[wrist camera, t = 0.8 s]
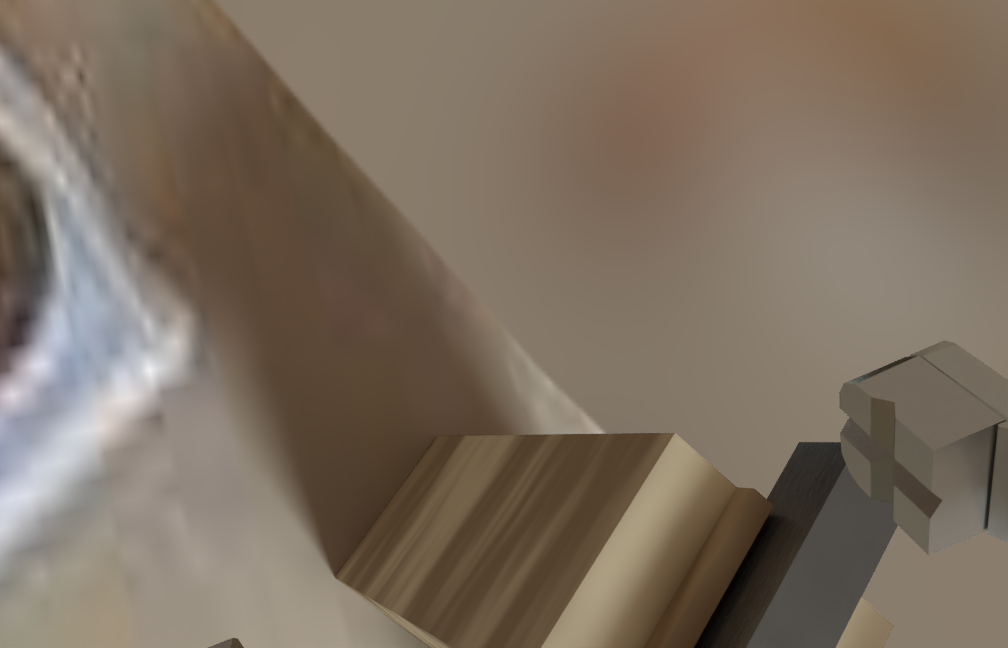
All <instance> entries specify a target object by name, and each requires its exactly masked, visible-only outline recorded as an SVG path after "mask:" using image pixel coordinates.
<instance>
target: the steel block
mask: <svg viewBox="0 0 1008 648" xmlns="http://www.w3.org/2000/svg"><path fill="white" fill-rule="evenodd" d="M767 500H768V501H769V502H770V503H771V504H772V505H773V508H772V509H771V511H770V513H769V515H768V517H767V518H766V520H765V522H764V524H763V525H762V527H761V529H760V531H759V533H758V534H757V536H756V538H755V540H754V541H753V543H752V545H751V547H750V548H749V550H748V552H747V554H746V556H745V557H744V559H743V561H742V563H741V564H740V566H739V568H738V570H737V572H736V573H735V575H734V577H733V579H732V580H731V582H730V584H729V586H728V588H727V589H726V591H725V593H724V595H723V596H722V598H721V600H720V602H719V603H718V605H717V607H716V609H715V611H714V612H713V614H712V616H711V618H710V619H709V621H708V623H707V625H706V627H705V628H704V630H703V632H702V634H701V635H700V637H699V639H698V641H697V643H696V644H695V646H694V648H836V646H837V644H838V642H839V640H840V638H841V636H842V634H843V632H844V630H845V628H846V626H847V624H848V622H849V620H850V618H851V616H852V614H853V612H854V610H855V608H856V606H857V604H858V602H859V601H860V599H861V597H862V595H863V593H864V591H865V588H866V587H867V585H868V583H869V581H870V579H871V577H872V575H873V573H874V571H875V569H876V567H877V565H878V563H879V561H880V559H881V557H882V555H883V553H884V551H885V549H886V547H887V545H888V543H889V541H890V539H891V537H892V535H893V533H894V531H895V530H896V528H897V526H898V525H897V524H896V523H895V522H894V521H893V505H891V504H888V503H885V502H881V501H878V500H875V499H872V498H870V497H869V496H868V495H867V494H866V493H865V492H864V491H863V490H862V489H861V487H860V486H859V485H858V484H857V483H856V481H855V480H854V478H853V477H852V475H851V474H850V472H849V470H848V468H847V465H846V463H845V460H844V458H843V455H842V452H841V442H799V443H798V445H797V447H796V449H795V451H794V452H793V454H792V456H791V458H790V459H789V461H788V463H787V465H786V467H785V468H784V470H783V472H782V473H781V475H780V477H779V479H778V481H777V482H776V484H775V486H774V488H773V489H772V491H771V493H770V495H769V496H768V498H767Z"/></svg>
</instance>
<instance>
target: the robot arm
mask: <svg viewBox="0 0 1008 648" xmlns="http://www.w3.org/2000/svg"><path fill="white" fill-rule="evenodd" d="M840 409H842V410H843V411H844V412H845V413H846V414H847V415H848V416H849V419H848V421H847V422H846V424H845V426H844V428H843V429H842V431H841V433H840V437H841V452H842V455H843V458H844V460H845V463H846V465H847V468H848V470H849V472H850V474H851V475H852V477H853V478H854V480H855V481H856V483H857V484H858V485H859V486H860V487H861V489H862V490H863V491H864V492H865V493H866V494H867V495H868V496H869V497H870V498H872V499H875V500H878V501H881V502H885V503H888V504H891V505H893V521H894V522H895V523H896V524H897V525H898V526H899V527H901V529H902V530H903V531H904V532H905V533H906V534H907V535H908V536H909V537H910V538H911V539H913V541H915V543H916V544H918V545H919V546H920V547H921V548H922V549H923V550H924V551H925V552H926V553H927V554H928V555H930V554H932V553H935V552H937V551H940V550H942V549H944V548H947V547H949V546H951V545H954V544H956V543H958V542H961V541H963V540H966V539H968V538H970V537H973V536H975V535H978V534H980V533H983V532H985V531H987V534H988V535H990V536H993V537H995V538H998V539H1000V540H1003V541H1005V542H1008V380H1007V379H1005V378H1004V377H1003V376H1001V375H1000V374H998V373H997V372H996V371H994V370H993V369H991V368H990V367H988V366H987V365H986V364H984V363H983V362H981V361H980V360H978V359H977V358H976V357H974V356H972V355H971V354H970V353H968V352H967V351H965V350H964V349H962V348H961V347H960V346H958V345H957V344H955V343H953V342H948V341H942V342H940V343H937V344H935V345H933V346H930V347H928V348H926V349H924V350H921V351H919V352H916V353H914V354H911V355H910V356H909V357H904V358H902V359H900V360H897V361H895V362H893V363H890V364H888V365H886V366H883V367H881V368H879V369H877V370H874V371H872V372H869V373H867V374H865V375H862V376H860V377H858V378H855V379H853V380H851V381H848V382H846V383H844V384H843V386H842V388H841V391H840ZM208 648H244V647H243V646H242V644H241V643H240V641H239V640H238V639H236V638H231V639H229V640H226V641H224V642H221V643H219V644H216V645H213V646H211V647H208Z"/></svg>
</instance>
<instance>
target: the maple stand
mask: <svg viewBox="0 0 1008 648" xmlns="http://www.w3.org/2000/svg"><path fill="white" fill-rule="evenodd" d="M772 508H773V505H772V504H771V503H770V502H769V501H768V500H767V499H765V498H764V497H763V496H762V495H761V494H760V493H759V492H757V491H756V490H755V489H751V488H737V487H736V486H735V485H734V484H732V483H731V482H730V481H729V480H728V479H727V478H726V477H724V476H723V475H722V474H721V473H720V472H719V471H718V470H716V469H715V468H714V467H713V466H712V465H711V464H710V463H709V462H707V461H706V460H705V459H704V458H703V457H702V456H701V455H699V454H698V453H697V452H696V451H695V450H694V449H693V448H692V447H690V446H689V445H688V444H687V443H686V442H685V441H683V440H682V439H681V438H680V437H679V436H678V435H677V434H676V433H634V434H555V435H478V436H437V437H436V439H435V440H434V441H433V443H432V444H431V446H430V447H429V448H428V450H427V451H426V452H425V454H424V455H423V457H422V458H421V459H420V461H419V462H418V464H417V465H416V466H415V468H414V469H413V470H412V472H411V473H410V475H409V476H408V477H407V479H406V480H405V481H404V483H403V484H402V486H401V487H400V488H399V490H398V491H397V492H396V494H395V495H394V497H393V498H392V499H391V501H390V502H389V504H388V505H387V506H386V508H385V509H384V510H383V512H382V513H381V515H380V516H379V517H378V519H377V520H376V521H375V523H374V524H373V526H372V527H371V528H370V530H369V531H368V533H367V534H366V535H365V537H364V538H363V539H362V541H361V542H360V544H359V545H358V546H357V548H356V549H355V550H354V552H353V553H352V555H351V556H350V557H349V559H348V560H347V561H346V563H345V564H344V566H343V567H342V568H341V570H340V571H339V573H338V574H337V575H336V577H335V578H336V579H338V580H339V581H341V582H342V583H343V584H345V585H346V586H347V587H349V588H350V589H351V590H353V591H354V592H355V593H357V594H358V595H359V596H361V597H362V598H363V599H365V600H366V601H367V602H369V603H370V604H372V605H373V606H374V607H376V608H377V609H378V610H380V611H381V612H382V613H384V614H385V615H386V616H388V617H389V618H390V619H392V620H393V621H394V622H396V623H397V624H399V625H400V626H401V627H403V628H404V629H405V630H407V631H408V632H409V633H411V634H412V635H413V636H415V637H416V638H417V639H419V640H420V641H421V642H423V643H424V644H425V645H427V646H428V647H430V648H694V646H695V644H696V643H697V641H698V639H699V637H700V635H701V634H702V632H703V630H704V628H705V627H706V625H707V623H708V621H709V619H710V618H711V616H712V614H713V612H714V611H715V609H716V607H717V605H718V603H719V602H720V600H721V598H722V596H723V595H724V593H725V591H726V589H727V588H728V586H729V584H730V582H731V580H732V579H733V577H734V575H735V573H736V572H737V570H738V568H739V566H740V564H741V563H742V561H743V559H744V557H745V556H746V554H747V552H748V550H749V548H750V547H751V545H752V543H753V541H754V540H755V538H756V536H757V534H758V533H759V531H760V529H761V527H762V525H763V524H764V522H765V520H766V518H767V517H768V515H769V513H770V511H771V509H772ZM893 627H894V625H893V624H891V623H890V622H889V621H888V620H887V619H886V618H885V617H884V616H882V615H881V614H880V613H879V612H878V611H877V610H876V609H875V608H873V607H872V606H871V605H870V604H869V603H868V602H867V601H865V600H864V599H863V598H862V597H861V599H860V601H859V602H858V604H857V606H856V608H855V610H854V612H853V614H852V616H851V618H850V620H849V622H848V624H847V626H846V628H845V630H844V632H843V634H842V636H841V638H840V640H839V642H838V644H837V646H836V648H884V645H885V644H886V642H887V640H888V638H889V635H890V633H891V631H892V629H893Z"/></svg>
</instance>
